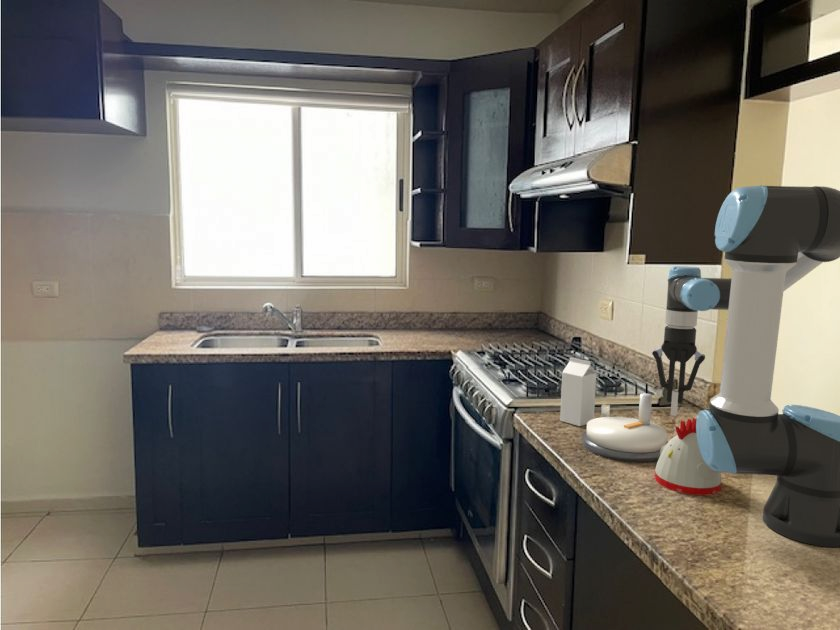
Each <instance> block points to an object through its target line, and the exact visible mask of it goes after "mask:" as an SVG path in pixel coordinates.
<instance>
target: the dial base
mask: <svg viewBox="0 0 840 630" xmlns="http://www.w3.org/2000/svg"><path fill="white" fill-rule="evenodd" d="M610 407H611V405H610V404H605V403H602V405H601V408H600V409H601V412H600V417H610V411H611V409H610ZM586 431H587V430H585V431H584V432H583V433H582V437H581V445H582V444H583V445H582V447H583V446H584V447H585V448H586V449H587V450H586V449H585V448H584V447H583V448H584V449H585V450H586V451H588V450H589V451H591V452H593V453H595V454H594V455H596V454H597V455H596V456H598V455H600V456H599V457H601V456H603V457H602V458H604V457H606V458H605V459H608V458H610V459H609V460H612V459H613V461H617V460H618V461H617V462H623V461H624V463H632V462H634V464H646V463H647V464H649V463H656V462H658V460H659V457H660V450H659V451H655V452H648V453H632V452H623V451H617V450H612V449H608V448H604V447H601V446H599V445H596V444H594V443H592V442H591V441H590V440H588V438H587V437H586ZM668 442H669V441H668V440H666V444H667V443H668ZM589 451H588V452H589ZM591 452H590V453H591ZM593 453H592V454H593Z"/></svg>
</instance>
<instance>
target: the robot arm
mask: <svg viewBox="0 0 840 630" xmlns="http://www.w3.org/2000/svg"><path fill="white" fill-rule="evenodd" d="M714 237H715V239H714V243H715V246H716V248H717V249H718V250H719V251H721V252H722V253H724V259H723V260H724V261H725V263H727V265H728V266H729V267H730V268H731V270H732V271H731V277H730V278H729V277H728V278H725V277H724V278H723V277H722V278H721V277H720V278H718V277H702V272H701V268H699V267H697V266H682V265H681V266H676V265H675V266H672V267H670V268H669V272H668V278H667V294H666V295H667V296H666V297H667V298H666V308H665V309H666V310H665V320H664V321H665V322H664V323H665V327H664V334H663V342H662V344H661V347H659V348H657V349H654V350H652V352H651V354H652V356H653V357H654V359H655V362H656V368H657V374H658V378H659V379H658V380H659V385H660V387H661V388H664V389H666V390H667V395H666V401H667V403H671V405H670V416H672V417H677V415H678V410H679V409H678V408H679V404H682V403H683V402H684V392H687V391H691V389H692V387H693V385H694V382H695V380H696V377H697V373H698V371H699V368H700V365H701V364H702V363H703V362H704V361H705V359H706V355H705V354H704V353H703V354H702V353H701V352H699V351H698V348H697V345H696V340H697V339H696V336H697V329H696V327H697V325H698V315H699V314H698V312H707V311H709V310H713V311H714V310H715V311H717V310H723V311H727V318H726V329H725V338H724V347H723V358H722V366H721V367H722V369H721V377H720V385H719V392H718V393H717V394H715V395H713V397H711V398H710V400H709V407H708V408H709V409H703V410H699V412H698V413H697V417H696V419H697V420H696V433H697V440H698V445H699V449H700V452H701V455H702V458H703V460H704V462H705V463H706V464H707V466H708V467H709V468H710V469H712V470H714V471H717V472H721V473H729V474H731V475H736V474H739V475H754V476H755V475H761V476H776V482H775V485H774V486H773V489H772V490H771V492H770V494H769V496H768V498H767V500H766V502H765V504H764V506H763V510H762V520H763V523H764V524H765V525H766V526H767V527H768V528H769V529H770V530H772V531H774V532H776V533H778V534H779V535H781V536H784V537H786V538H789V539H791V540H794V541H797V542H800V543H803V544H804V543H805V544H808V545H811V546H818V547H826V548H839V547H840V415H839V414H836V413H832V412H830V411H827V410H823V409H819V408H816V407H811V406H806V405H801V404H787V405H785V406H784V407H783V409H782V413H780V414H779V411H780V409H779V407H778V406H777V404H775V403H774V402H773V401H772V399H771V398H772V391H773V390H772V389H773V382H774V374H775V365H776V356H777V348H778V339H779V332H780V331H779V330H780V323H781V315H782V307H783V297H784V292H785V291H786V290H788V289H789V288H791V287H792V286H793V285H794V284H796V283H797V282H799V281H800V280H801V279H803V278H804V277H806V276H807V275H808V274H809V273H811V272H812V271H814V270H815V269H816V268H818V267H819V266H820V265H822V264H823V263H830V262H833V261H836V260H838V259H839V258H840V190H838V189H837V188H833V187H829V186H820V185H819V186H818V185H817V186H816V185H815V186H787V185H786V186H784V185H783V186H781V185H762V184H760V185H751V186H740V187H737V188H735V189H734V190H732V191H731V192H730V193H729V194H727V196H726V197H725V200H724V201H723V203H722V204H721V207H720V209H719V212H718V214H717V218H716V222H715V229H714ZM663 354H664V355H665V357H667V358H666V359H667V360H668V361H669V364H668V365H669V367H668V380H666V379H667V378H666V375H665V370H664V369H665V368H664V364H663V363H664V362H663V358H662V357H663ZM693 356H694V360H695V361H694V365H693V366H692V370H691V372H690V375H689V378H688V381H687V382H686V384H685V381H686V380H685V379H686V378H685V377H686V366H687V362H688V361H690V359H692V357H693ZM677 362H678V363H680V364H679V378H678V388H677V389H675V388H674V382H675V369H676V363H677Z"/></svg>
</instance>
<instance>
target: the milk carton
mask: <svg viewBox="0 0 840 630" xmlns="http://www.w3.org/2000/svg"><path fill="white" fill-rule="evenodd" d="M591 364H592V363H591V360H586V359H585V360H584V359H581V358H575V357H569V361H568V363H567V364H566V366H565V367H564V369H563V371H562V372H561V376H562V377H561V391H560V392H561V394H560V397H561V398H560V412H559V415H560V416H559V420H560V422H563V423H567V424H570V425H574V426H577V427H583V426H585V425H586V426H587V422H588V421H590V420H592V419H595V407H596V405H595V404H596V389H597V388H596V386H597V371H596V370H595V369H594V368H593V366H592V365H591Z"/></svg>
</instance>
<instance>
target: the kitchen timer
mask: <svg viewBox="0 0 840 630" xmlns="http://www.w3.org/2000/svg"><path fill="white" fill-rule="evenodd" d="M696 420H697V418H694V417H693V418H692V419H690V418H688V419H687V420H686V422H685V420H682V419H681V420H680V424H679V425H680V426H676V425H675V431H676V435H675V436H673V437H672V438H671V439H670V440H669V441H668V443H667V444H666V445H663V446H662V447H661V449H660V457H659V460H658V461H657V463H656V466H655V469H654V479H655V481H656V482H657V483H658V484H659V485H660V486H662V487H664V488H666V489H667V490H670V491H674V492H677V493H682V494H685V495H686V494H687V495H692V496H693V495H694V496H709V495H714V494H718V493H719V492H720V491H721V489H722V472H717V471H714V470H712V469H710V468H709V467H708V466H707V464H706V463H705V462H704V460H703V458H702V455H701V452H700V449H699V445H698V440H697V433H696Z"/></svg>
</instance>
